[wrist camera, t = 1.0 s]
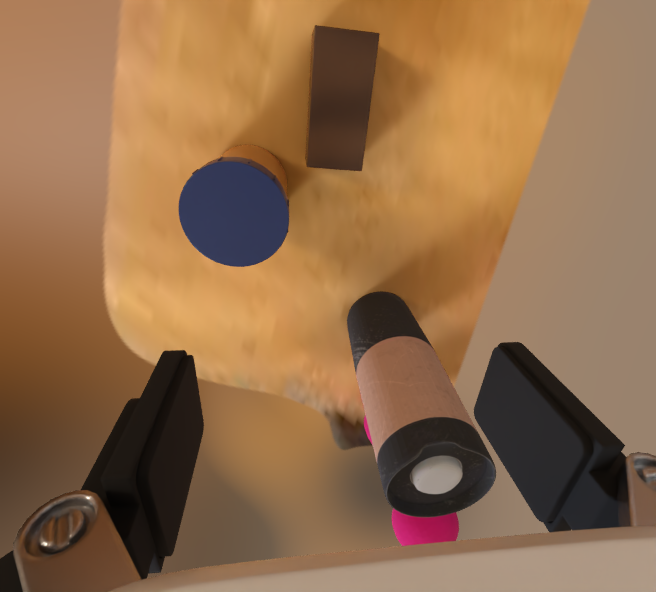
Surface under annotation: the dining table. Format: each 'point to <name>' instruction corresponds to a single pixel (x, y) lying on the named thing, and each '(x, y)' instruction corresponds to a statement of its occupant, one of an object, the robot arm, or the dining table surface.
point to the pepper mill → (422, 524)
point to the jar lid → (234, 211)
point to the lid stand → (339, 97)
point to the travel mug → (414, 413)
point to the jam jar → (260, 160)
